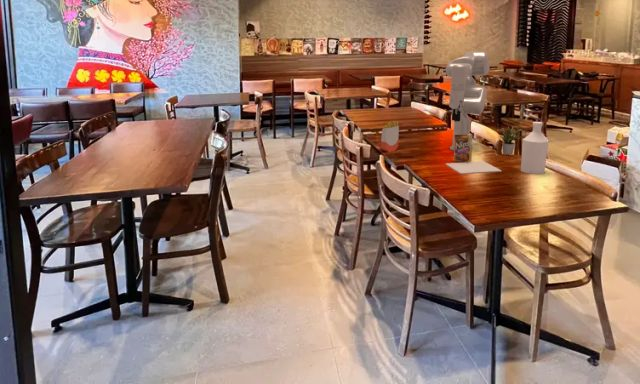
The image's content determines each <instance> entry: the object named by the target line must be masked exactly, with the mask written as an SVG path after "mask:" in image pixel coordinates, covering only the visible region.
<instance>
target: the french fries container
mask: <svg viewBox="0 0 640 384" xmlns="http://www.w3.org/2000/svg"><path fill="white" fill-rule="evenodd" d="M399 132H400V127H399V121H393V120H392V121H388V122H387V124H384V126H383V127H382V129H381V139H380V140H381V141H380V144H381V145H380V148H381V149H382V150H383V152H386V153H387V152H389V153H391V152H394V151H396V150H397V149H398V147H399Z"/></svg>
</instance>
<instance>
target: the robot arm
mask: <svg viewBox="0 0 640 384" xmlns="http://www.w3.org/2000/svg"><path fill="white" fill-rule="evenodd" d="M489 72H490V60H489V57H488V54H487V52H485V51H467V52H465V53H464V54H463V55H462V57H458V58H455V59H453V60H450V61H449V62H448V63H447V65H446V67H445V74H446V76H447V77H448V78H450V79H451V83H450V93H449V102H448V107H449V108H451V121H453V134H452V135H453V137H452V145H451V146H450V147H449V149H450V150H451V151H454V137H455V134H457V133H458V134H471V133H470V132H471V119H470V117H469V115H468V114H471V115H472V114H474V115H480V114H482V113H483V112H484V110H485V106H486V100H487V95H488V90H487V88H486V86H484V85H477V81H476V80H475V79H474V77H473V76H487V75H488V74H489Z"/></svg>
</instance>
